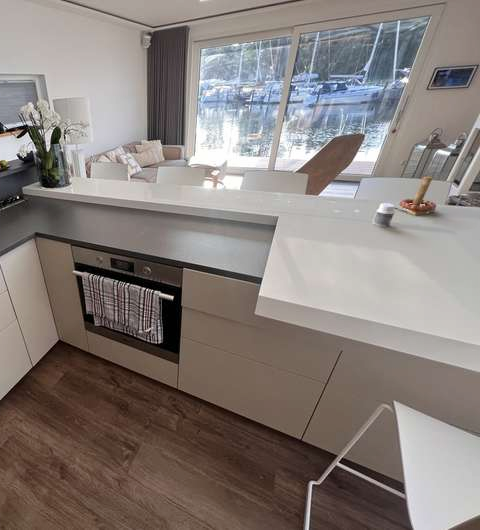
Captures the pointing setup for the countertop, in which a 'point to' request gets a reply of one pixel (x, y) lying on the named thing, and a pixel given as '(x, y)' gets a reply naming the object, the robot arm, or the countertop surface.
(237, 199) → the countertop surface
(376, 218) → the pill bottle
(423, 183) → the stand
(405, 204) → the ring
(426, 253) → the countertop surface
